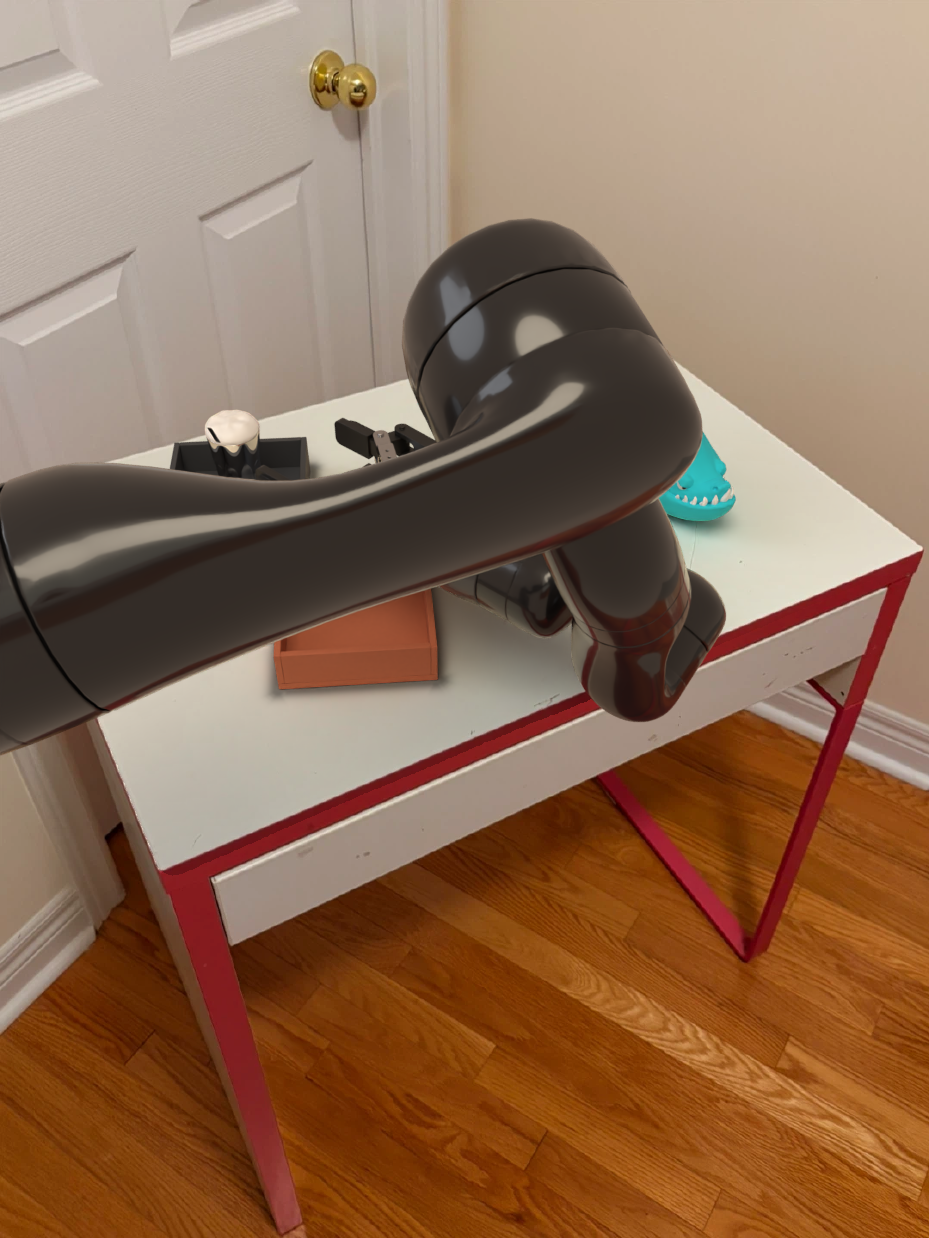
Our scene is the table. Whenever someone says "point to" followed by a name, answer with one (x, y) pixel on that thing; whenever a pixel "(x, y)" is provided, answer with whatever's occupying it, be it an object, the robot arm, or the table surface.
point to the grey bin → (274, 454)
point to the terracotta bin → (363, 647)
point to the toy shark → (701, 489)
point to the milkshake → (234, 443)
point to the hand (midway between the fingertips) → (299, 452)
